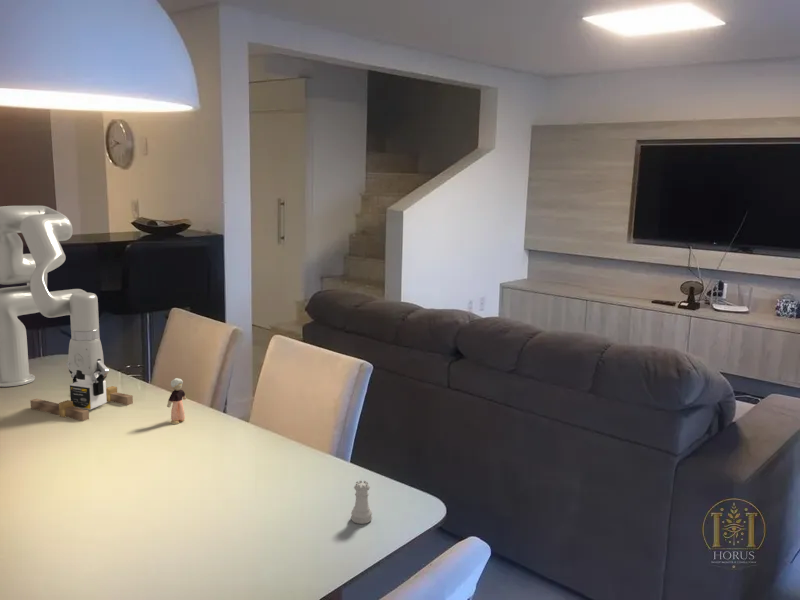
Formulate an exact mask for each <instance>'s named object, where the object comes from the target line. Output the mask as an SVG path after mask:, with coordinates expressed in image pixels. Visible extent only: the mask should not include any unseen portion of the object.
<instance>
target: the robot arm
mask: <svg viewBox="0 0 800 600" xmlns="http://www.w3.org/2000/svg"><path fill="white" fill-rule="evenodd" d="M73 231H74V230H73V225H72V222H71V220H70V218H68V217H67V216H66V215H65V214H63V213H62V212H60V211H58V210H55V209H53V208H51V207H49V206H46V205H7V206H6V205H4V206H1V205H0V285H4V286H5V285H18V284H26V285H21V286H20V285H19V286H10V287H9V286H8V287H1V288H0V387H3V388H4V387H5V388H6V387H7V388H8V387H17V386H23V385H26V384H30V383H32V382H34V381H35V379H36V376H35V375H34V374H32V373H30V367H29V366H30V365H29V355H28V354H29V353H28V339H27V338H28V337H27V329H26V326H25V325H24V323H23V322H22V321H21V320H20V319H19V318H18V317H20V316H23V315H30V314H36V313H37V314H38V313H40V314H41V315H42V316H44V317H46V318H50V319H51V318H58V317H63V316H70V317H69V318H70V332H71V333H70V335H71V338H70V339H69V344H68V359H67V362H65V364H66V366H67V368H68V372H69V373H70V377H71V378H72V383H74V382H77V379H76V372H77V370H80V371H82V374H84V375H92V378H93V380H94V383H93V395H94V396H97V395H101V394H103V393H104V389H103V381H104V380H105V379H106V378H107V375H108V374H109V372H110V370H109V368H108V367H107V366H106V365H105V363H104V362H105V361H104V351H103V346H102V342H101V339H100V337H101V335H100V323H99V322H100V320H99V319H100V318H99V302H98V301H99V300H98V296H97V294H96V293H93V292H87V291H86V290H83V289H81V288H72V289H71V288H70V289H63V290H53V291H49V289H48V273H49V272H52V271H54V270H55V269H57V268H59V267H60V266H62V265H63V264H64V263H65V261H66V257H67V256H66V254H65V252H64V250H63V247H62V245H61V243H60V242H64V241H68V240H69V239H71V238H72V236H73ZM20 233H21V234H22V236H23V240H24V241H25V243H26V245H27V247H28V248H27V249H28V250H29V252H30V253H24V242H23V240H22V238H21V237H20V235H19V234H20ZM96 370H97V372H95V371H96ZM96 374H98V375H99V376H98V377H97V376H96ZM105 381H106V380H105Z"/></svg>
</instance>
